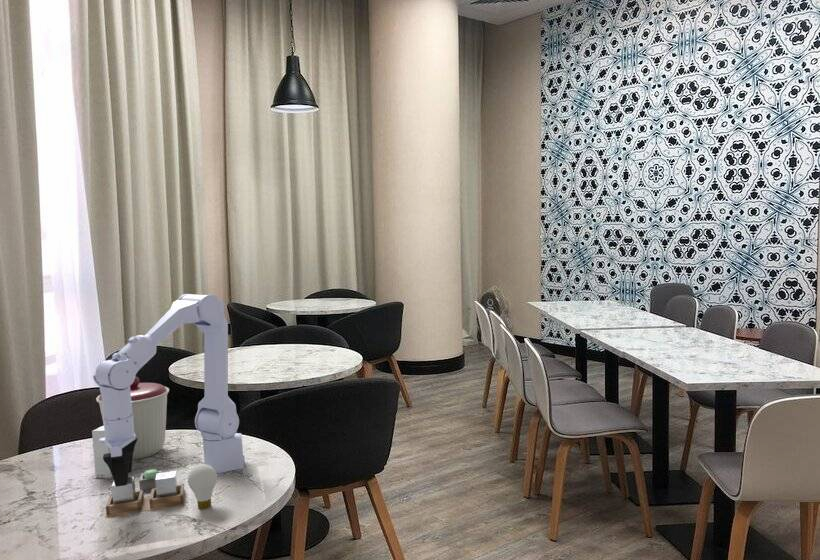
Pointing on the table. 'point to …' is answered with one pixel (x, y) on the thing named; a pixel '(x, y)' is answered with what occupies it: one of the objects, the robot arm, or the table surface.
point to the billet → (124, 492)
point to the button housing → (147, 482)
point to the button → (150, 473)
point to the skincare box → (100, 454)
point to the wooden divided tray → (145, 502)
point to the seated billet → (166, 484)
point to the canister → (147, 417)
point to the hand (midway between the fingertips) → (123, 478)
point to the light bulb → (202, 484)
